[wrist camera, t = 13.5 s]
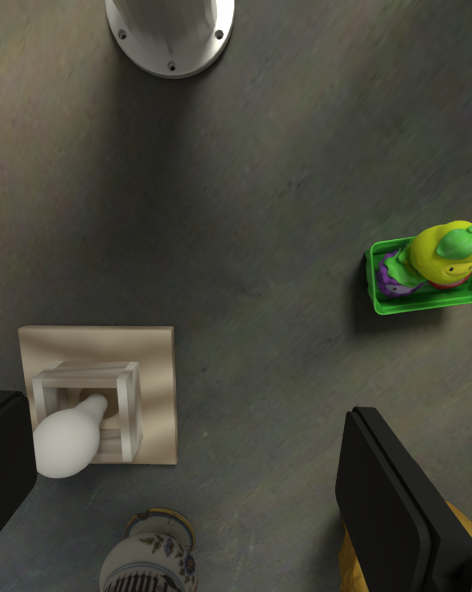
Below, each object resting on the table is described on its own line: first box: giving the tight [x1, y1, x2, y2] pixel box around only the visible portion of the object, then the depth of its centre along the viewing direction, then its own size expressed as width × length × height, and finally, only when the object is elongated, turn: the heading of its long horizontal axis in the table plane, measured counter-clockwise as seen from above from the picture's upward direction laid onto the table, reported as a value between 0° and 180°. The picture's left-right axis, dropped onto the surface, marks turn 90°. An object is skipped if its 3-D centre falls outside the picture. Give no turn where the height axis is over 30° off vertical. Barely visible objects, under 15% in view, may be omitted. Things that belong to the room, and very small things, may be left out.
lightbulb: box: [33, 394, 108, 478], centre depth 34 cm, size 6×6×11 cm
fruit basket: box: [365, 221, 472, 315], centre depth 32 cm, size 11×9×11 cm
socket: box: [18, 325, 178, 464], centre depth 38 cm, size 18×18×6 cm
